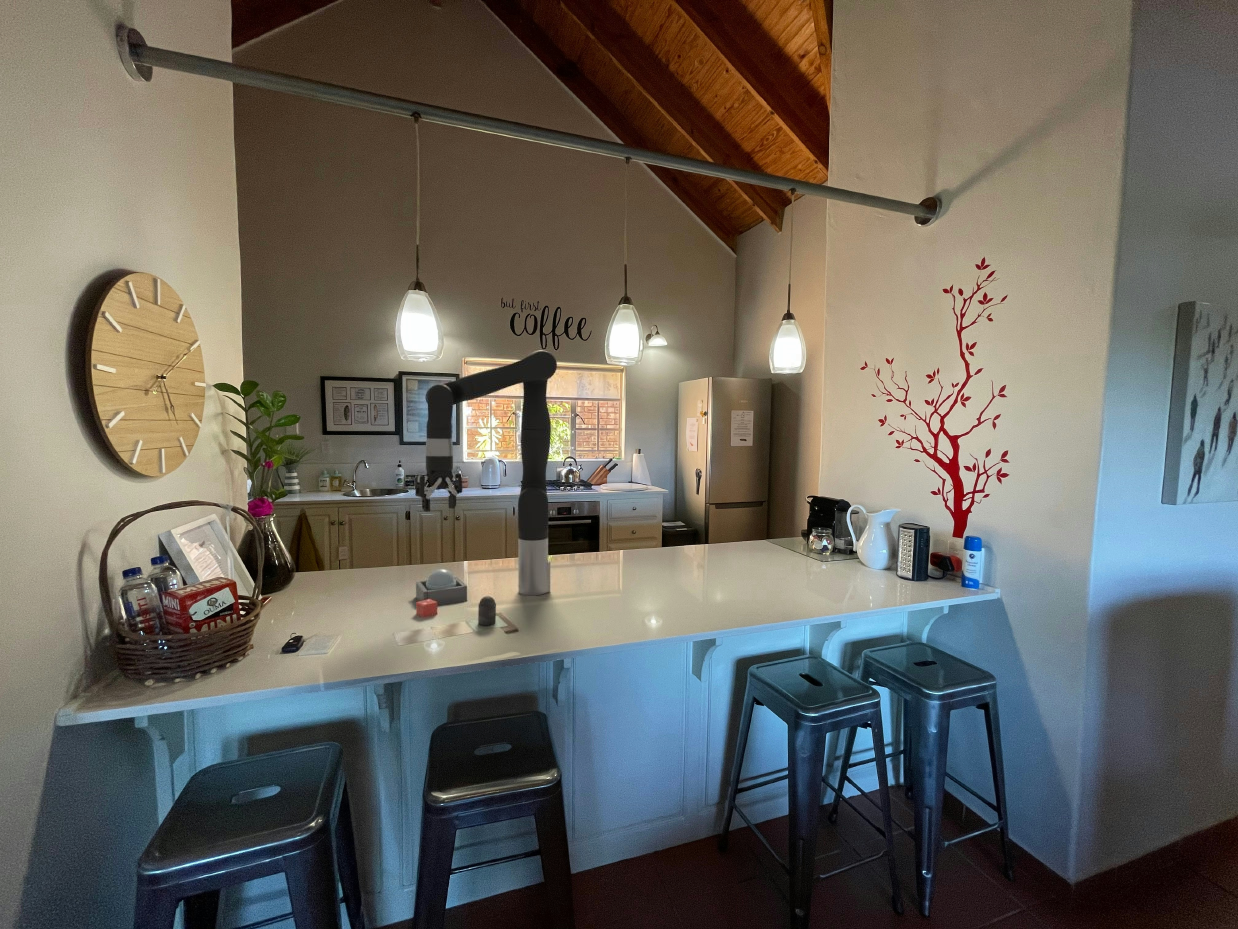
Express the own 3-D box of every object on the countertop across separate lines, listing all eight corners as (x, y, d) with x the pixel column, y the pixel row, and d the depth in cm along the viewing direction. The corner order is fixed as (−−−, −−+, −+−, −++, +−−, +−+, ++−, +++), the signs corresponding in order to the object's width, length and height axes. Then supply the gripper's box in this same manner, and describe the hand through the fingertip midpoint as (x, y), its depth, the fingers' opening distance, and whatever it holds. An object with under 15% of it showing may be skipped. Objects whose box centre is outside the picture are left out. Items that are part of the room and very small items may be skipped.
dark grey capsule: (493, 619, 145) (493, 593, 144) (497, 624, 141) (498, 597, 140) (476, 621, 143) (476, 595, 142) (480, 626, 139) (481, 599, 138)
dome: (452, 588, 170) (452, 564, 169) (459, 596, 162) (459, 570, 162) (423, 592, 165) (423, 567, 165) (429, 600, 158) (429, 574, 158)
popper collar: (456, 590, 173) (456, 576, 172) (467, 601, 162) (467, 586, 162) (415, 596, 166) (415, 581, 166) (424, 607, 156) (423, 592, 155)
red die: (430, 613, 151) (430, 598, 151) (437, 616, 149) (437, 601, 148) (416, 616, 148) (416, 601, 148) (423, 620, 146) (423, 605, 145)
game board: (500, 614, 151) (500, 611, 151) (518, 631, 139) (518, 627, 139) (383, 634, 136) (383, 631, 135) (392, 655, 124) (392, 651, 123)
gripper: (425, 455, 150) (426, 514, 151) (467, 454, 161) (467, 508, 162) (409, 454, 154) (410, 511, 155) (451, 453, 166) (452, 506, 167)
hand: (439, 509), depth 159 cm, fingers open, 8 cm apart
